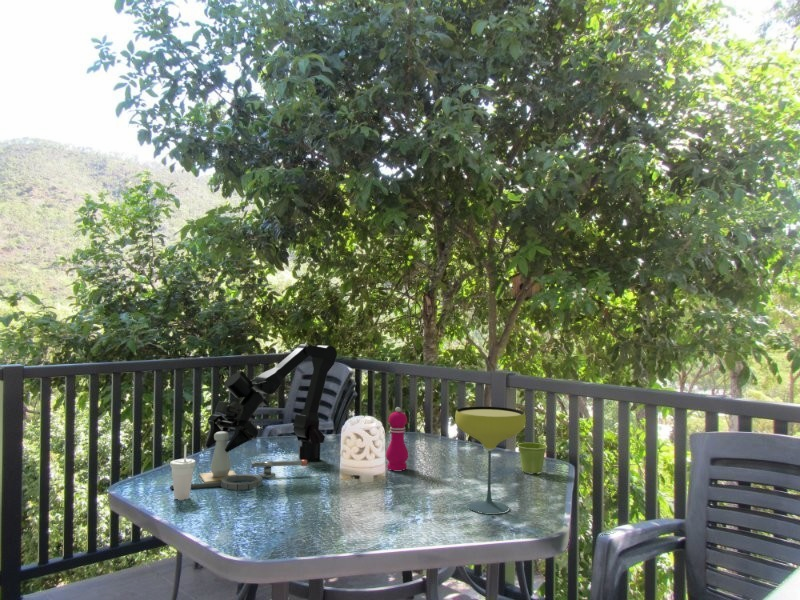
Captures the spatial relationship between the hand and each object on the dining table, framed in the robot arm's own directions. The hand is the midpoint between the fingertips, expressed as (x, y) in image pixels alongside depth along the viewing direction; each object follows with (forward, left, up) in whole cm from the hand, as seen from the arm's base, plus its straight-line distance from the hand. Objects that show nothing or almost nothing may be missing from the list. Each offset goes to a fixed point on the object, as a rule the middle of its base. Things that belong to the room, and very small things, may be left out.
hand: (216, 449), depth 186 cm
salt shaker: (-1, -1, -8) cm, 8 cm away
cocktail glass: (-67, +46, -9) cm, 82 cm away
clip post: (-15, 0, -9) cm, 17 cm away
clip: (-19, 0, -6) cm, 20 cm away
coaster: (-1, -1, -9) cm, 9 cm away
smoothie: (+9, +18, -9) cm, 22 cm away
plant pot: (-97, +15, -9) cm, 99 cm away
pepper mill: (-56, +1, -9) cm, 57 cm away
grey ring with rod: (0, +8, -9) cm, 12 cm away
